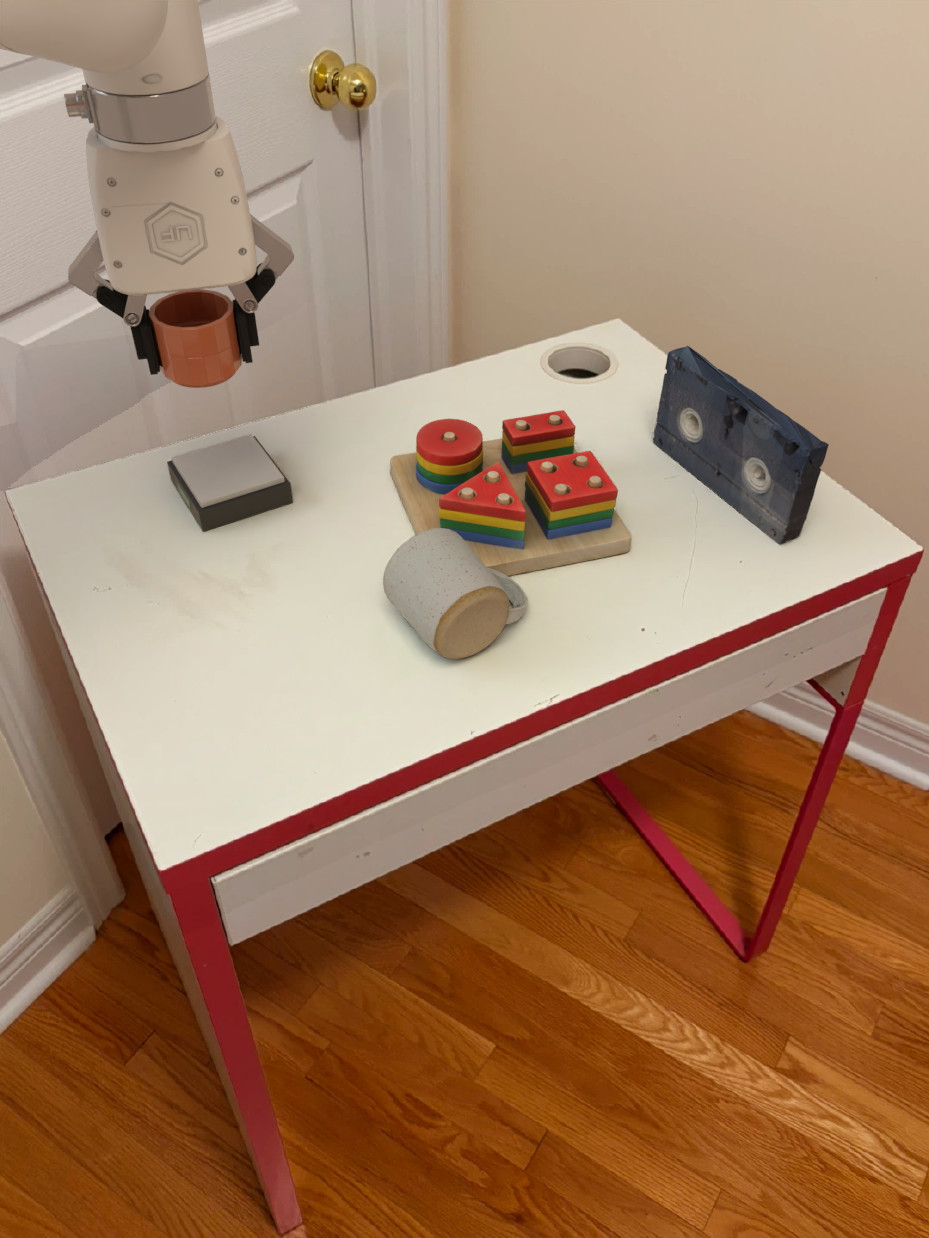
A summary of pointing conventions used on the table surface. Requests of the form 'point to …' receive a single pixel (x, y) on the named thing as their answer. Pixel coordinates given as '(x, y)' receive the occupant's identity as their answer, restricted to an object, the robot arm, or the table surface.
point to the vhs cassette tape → (738, 444)
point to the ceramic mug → (450, 593)
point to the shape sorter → (512, 493)
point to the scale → (229, 481)
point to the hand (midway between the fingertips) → (200, 357)
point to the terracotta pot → (196, 337)
